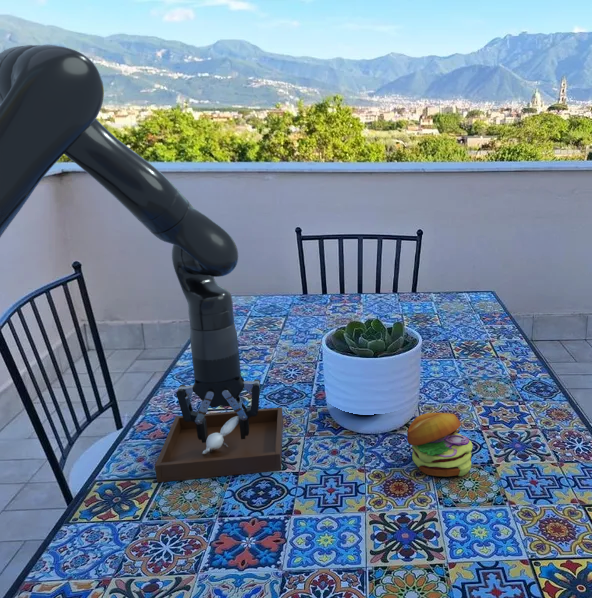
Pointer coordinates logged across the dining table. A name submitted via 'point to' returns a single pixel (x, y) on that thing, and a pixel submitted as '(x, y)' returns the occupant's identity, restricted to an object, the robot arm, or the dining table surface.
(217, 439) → the rabbit figurine
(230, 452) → the tray
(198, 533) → the dining table surface
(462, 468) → the cheeseburger
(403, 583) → the dining table surface
